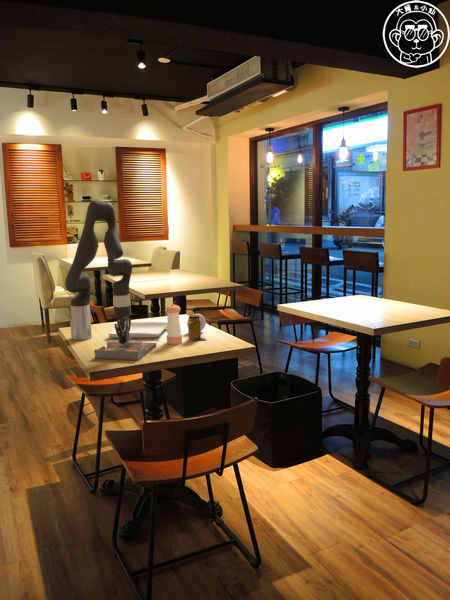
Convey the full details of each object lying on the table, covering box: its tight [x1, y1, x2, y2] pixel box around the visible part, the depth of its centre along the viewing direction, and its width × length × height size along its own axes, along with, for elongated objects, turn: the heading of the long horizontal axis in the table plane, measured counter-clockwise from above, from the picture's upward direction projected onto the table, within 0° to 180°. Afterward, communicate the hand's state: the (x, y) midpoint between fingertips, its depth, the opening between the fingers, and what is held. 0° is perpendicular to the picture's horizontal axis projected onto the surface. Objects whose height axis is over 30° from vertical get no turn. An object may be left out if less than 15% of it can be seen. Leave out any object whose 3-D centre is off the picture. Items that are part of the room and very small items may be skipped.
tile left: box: [104, 347, 118, 350], centre depth 233 cm, size 5×5×2 cm
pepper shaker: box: [165, 303, 183, 346], centre depth 252 cm, size 7×7×19 cm
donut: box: [186, 313, 207, 332], centre depth 274 cm, size 10×4×10 cm, turn 107°
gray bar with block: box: [106, 330, 143, 349], centre depth 234 cm, size 16×3×8 cm, turn 78°
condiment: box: [186, 314, 207, 342], centre depth 258 cm, size 7×8×12 cm
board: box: [105, 341, 157, 356], centre depth 241 cm, size 20×14×2 cm
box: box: [94, 345, 146, 362], centre depth 230 cm, size 20×9×4 cm, turn 78°
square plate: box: [107, 321, 168, 339], centre depth 275 cm, size 27×27×4 cm
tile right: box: [125, 348, 139, 351], centre depth 230 cm, size 5×5×2 cm
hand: (124, 342), depth 234 cm, fingers closed on gray bar with block, 3 cm apart
